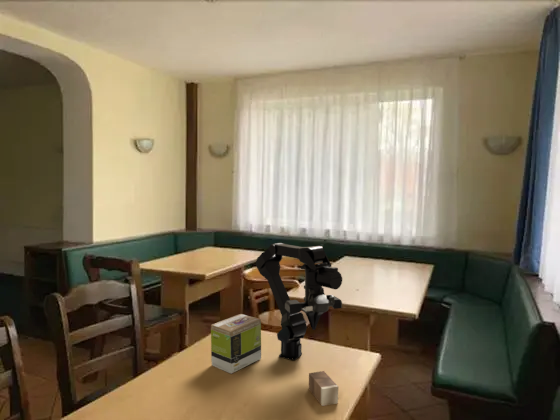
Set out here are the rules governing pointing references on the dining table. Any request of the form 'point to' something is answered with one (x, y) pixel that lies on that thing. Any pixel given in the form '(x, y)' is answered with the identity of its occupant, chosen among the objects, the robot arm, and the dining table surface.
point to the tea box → (235, 342)
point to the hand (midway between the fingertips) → (313, 329)
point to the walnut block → (323, 388)
